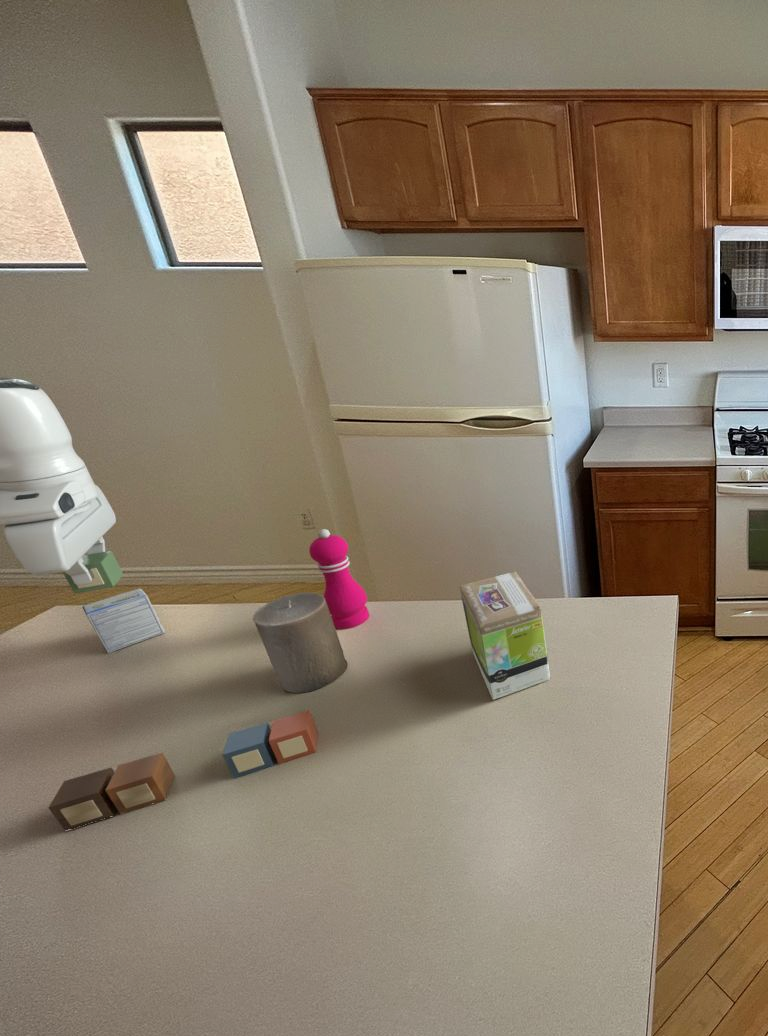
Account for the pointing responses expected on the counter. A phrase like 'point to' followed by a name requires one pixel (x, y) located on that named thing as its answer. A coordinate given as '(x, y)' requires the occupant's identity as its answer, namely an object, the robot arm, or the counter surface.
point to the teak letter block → (140, 783)
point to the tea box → (505, 633)
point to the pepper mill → (339, 581)
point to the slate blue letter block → (249, 750)
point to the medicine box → (123, 619)
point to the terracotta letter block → (293, 736)
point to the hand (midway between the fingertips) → (93, 573)
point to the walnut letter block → (83, 800)
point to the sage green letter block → (98, 572)
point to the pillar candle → (301, 641)
